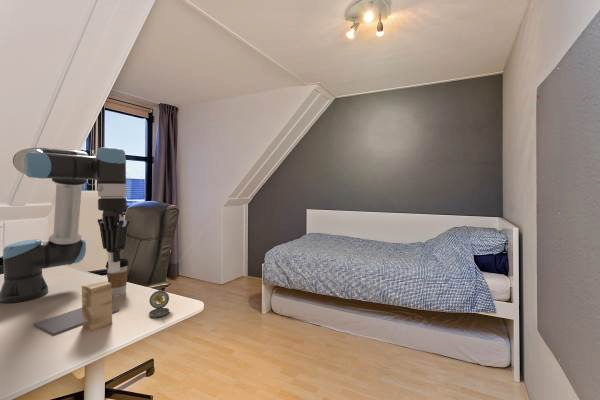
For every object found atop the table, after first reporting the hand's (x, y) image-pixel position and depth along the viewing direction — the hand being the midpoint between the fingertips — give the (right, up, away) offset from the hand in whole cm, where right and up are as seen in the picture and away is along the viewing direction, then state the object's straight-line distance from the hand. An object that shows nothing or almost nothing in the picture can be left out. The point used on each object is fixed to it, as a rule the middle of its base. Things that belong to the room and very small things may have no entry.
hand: (114, 271), depth 90 cm
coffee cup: (-21, -19, +34) cm, 44 cm away
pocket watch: (+7, -19, +15) cm, 26 cm away
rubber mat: (-20, -19, +11) cm, 30 cm away
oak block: (-9, -20, +6) cm, 22 cm away
